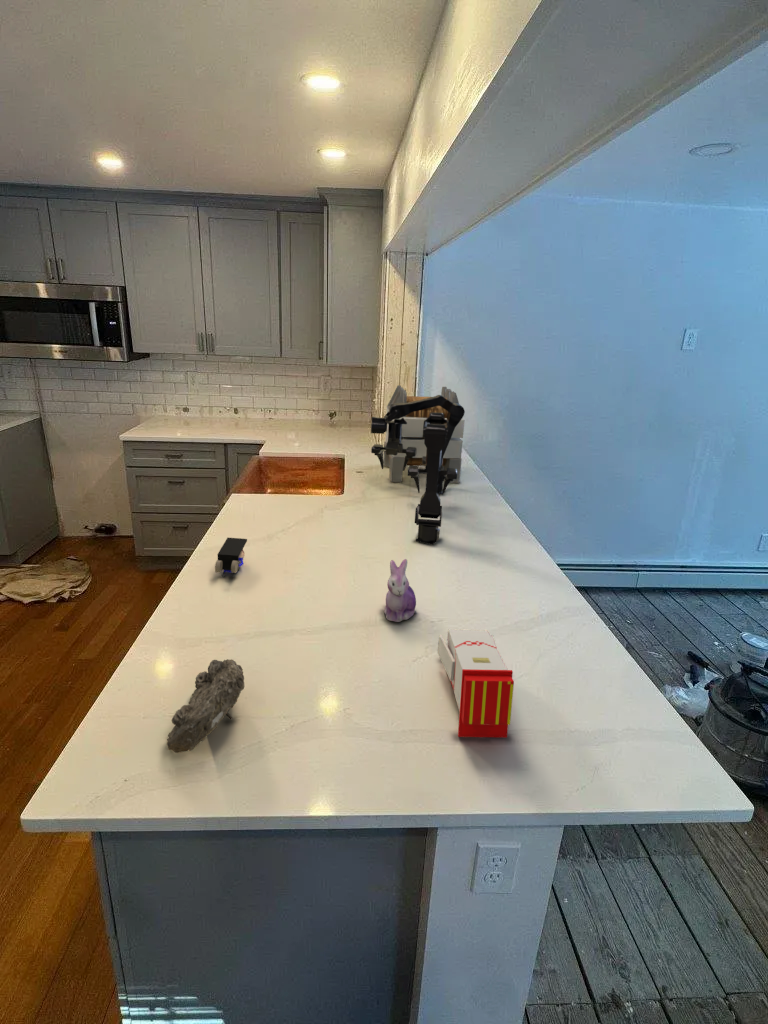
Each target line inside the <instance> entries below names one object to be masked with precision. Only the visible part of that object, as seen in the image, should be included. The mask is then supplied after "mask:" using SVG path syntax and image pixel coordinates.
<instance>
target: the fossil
mask: <svg viewBox="0 0 768 1024" xmlns="http://www.w3.org/2000/svg"><path fill="white" fill-rule="evenodd" d="M243 670H244V669H243V667H242V665H240V664H237V662H236V661H235V660H234V659H232V658H231V659H227V658H226V659H224V660H223V661H222V660H217V659H212V660H211V661H210V663H209V665H208V666H207V671H201V672H199V673H198V674H197V675H196V676H195V680H194V684H195V685H194V687H195V689H194V690H193V693H192V694H191V697H190V698H189V700H188V704H184V705H182V706H181V707H180V709H177V710H176V711H175V713H174V715H173V716H172V718H171V723H172V724H173V727H172V730H171V731H170V732H168V734H167V738H166V741H167V742H166V745H167V749H168V750H169V751H173V752H174V753H176V754H178V753H182V752H188V751H189V752H192V751H193V750H195V748H196V747H197V746H199V744H200V743H201V742H203V741H204V740H205V739H206V738H207V737H208V736H209V735H210V734H211V733H212V732H214V730H215V729H217V727H218V726H219V724H220V722H221V721H222V720H223V719H224V718H225V716H226V717H227V719H229V720H233V717H232V715H230V714H229V710H230V709H231V708H234V706H235V704H236V703H237V702H238V699H239V697H240V695H241V693H242V691H243V690H245V689H244V688H245V675H244V671H243Z"/></svg>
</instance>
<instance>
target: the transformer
mask: <svg viewBox="0 0 768 1024" xmlns="http://www.w3.org/2000/svg"><path fill="white" fill-rule="evenodd" d="M440 393H441V394H440V395H442V396H443V397H444V398H445V399H447V400H449V401H450V402H452V403H458V404H460V402H459V398H458V395H457V392H455V391H453V390H452V389H451V388H447V386H442V387H441V392H440ZM407 394H408V393H407V390H406V389H404V388H403V387H402V385H399V384H398V385H397V386H396V388H395V390H394V392H393V394H392V395H391V398H390V400H389V402H388V404H387V405H386V413H385V415H386V414H387V413H388V411H389V407H390V405H391V404H393V403H409V402H414V401H418V400H422V399H426V398H430V397H431V396H415V395H414V396H413V395H412V396H411V395H407ZM432 412H433V413H443V414H444V418H445V419H446V420H447V413H448V411H447V410H445V409H444V408H442V407H441V406H436V407H431V408H427V409H423V410H419V411H415V412H412V413H410V414H408V415H406V416H404V417H402V418H404V420H405V421H406V422H407V424H402V439H401V444H403V449H407V447H416V449H417V454H416V456H415V457H412V458H409V460H408V463H407V465H406V467H407V466H408V467H409V466H419V467H425V465H422V458H423V456H426V450H427V448H426V446H425V444H424V439H425V438H424V437H423V425H424V421H425V420H426V419H427V418H428V417H429V416H430V413H432ZM402 418H399V419H402ZM392 421H394V420H392ZM388 427H389V424H387V431H386V432H385V438H384V442H383V447H386V444H387V441H388ZM464 429H465V419H464V418H462V419H461V421H460V422H459V423H458V425H457V426H456V427H455V429H454V432H453V434H452V437H451V439H450V441H449V444H448V446H447V449H446V451H445V454H444V456H443V461H442V468H441V470H446V471H447V468H455V469H457V479H453V481H450V483H449V484H455V483H456V484H459V483H461V472H462V461H463V460H462V453H463V442H464V441H463V440H462V439H463V438H464V431H465V430H464ZM405 456H406V453H398V454H397V455H387V454H386V452H383V460H384V467H388V468H389V475H388V476H389V477H388V478H389V480H390V482H391V483H402V482H403V475H404V471H403V467H404V461H405ZM444 476H446V475H444Z"/></svg>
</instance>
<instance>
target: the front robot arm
mask: <svg viewBox="0 0 768 1024" xmlns="http://www.w3.org/2000/svg"><path fill="white" fill-rule="evenodd" d="M448 430H449V422H448V421H447V420H446V419H445V418H444V414H443V413H433V412H432V413H430V416H429V417H428V418H427V419H426V420H425V421H424V425H423V437H424V438H425V439H424V444H425V446H426V448H427V450H426V456H423V458H422V465H425V466H424V468H419V467H420V466H408V468H407V476H408V477H410V479H413V481H414V484H415V486H416V489H417V493H418V494H420V490H421V486H420V485H421V483H420V475H426V477H425V490H424V491H425V492H424V493H423V494H422V495H421V497H420V500H419V503H418V504H417V506H416V507H415V513H414V524H416V526H418V527H417V538H416V539H415V542H417V543H421V544H425V545H430V546H435V544H436V543H437V542H438V541H439V540H440V532H441V527H442V520H443V519H442V516H443V505H441V502H442V501H441V498H440V495H439V494H437V484H438V475H446V476H445V479H444V481H443V491H442V496H444V494H445V492H446V490H447V489H448V488H447V487H448V486H449V484H451V483H450V481H453V479H457V469H455V468H447V471H446V470H440V466H441V453H442V448H443V447H444V446H445V442H446V439H448ZM419 517H420V518H419Z"/></svg>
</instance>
